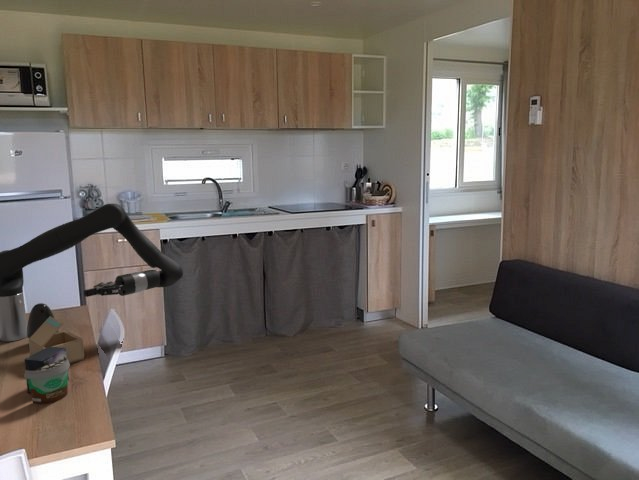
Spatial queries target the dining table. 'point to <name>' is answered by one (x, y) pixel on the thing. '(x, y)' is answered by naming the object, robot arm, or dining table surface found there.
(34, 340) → the flap
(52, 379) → the food container
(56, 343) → the carton
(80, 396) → the dining table surface
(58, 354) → the small box
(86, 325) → the dining table surface
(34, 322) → the black egg-shaped piece
